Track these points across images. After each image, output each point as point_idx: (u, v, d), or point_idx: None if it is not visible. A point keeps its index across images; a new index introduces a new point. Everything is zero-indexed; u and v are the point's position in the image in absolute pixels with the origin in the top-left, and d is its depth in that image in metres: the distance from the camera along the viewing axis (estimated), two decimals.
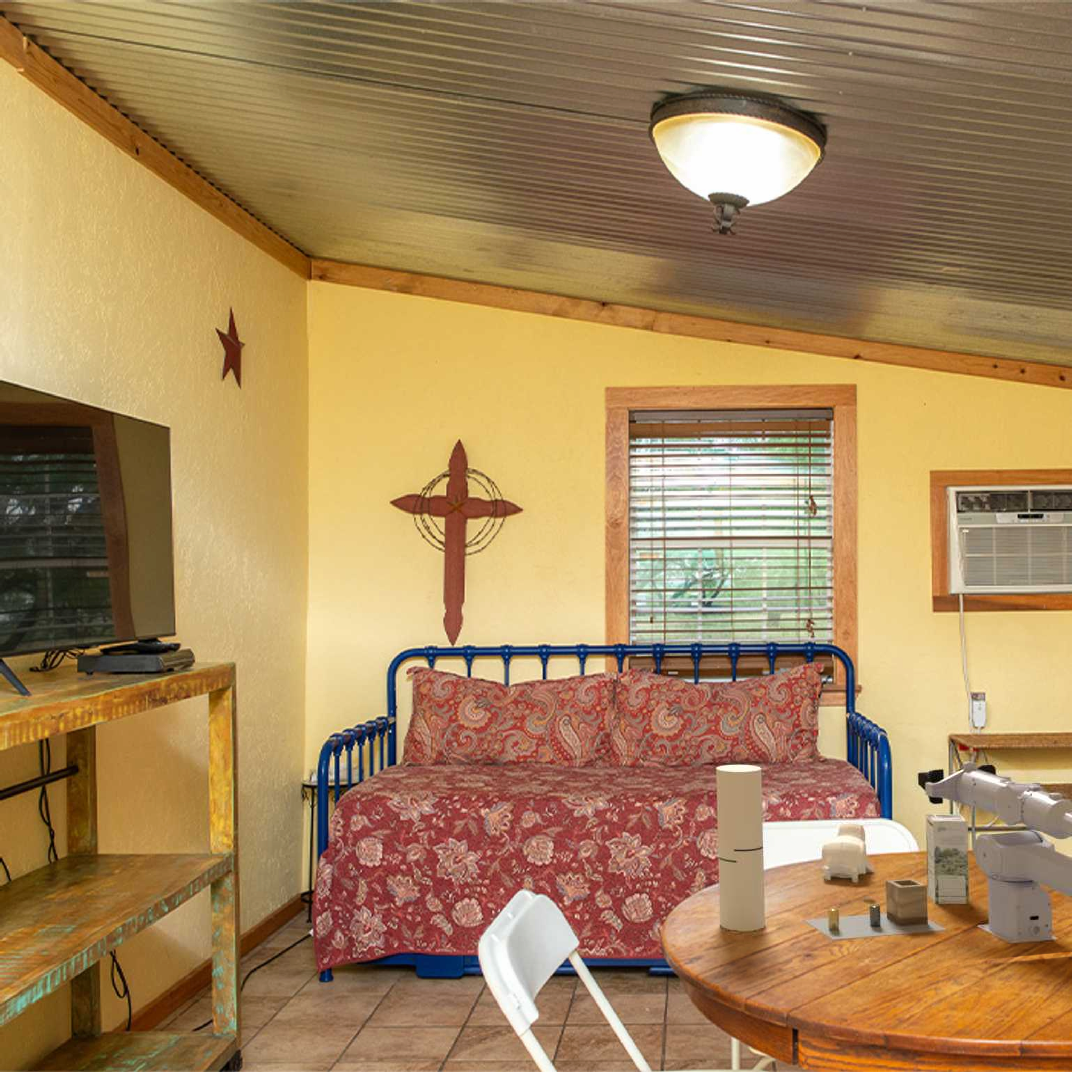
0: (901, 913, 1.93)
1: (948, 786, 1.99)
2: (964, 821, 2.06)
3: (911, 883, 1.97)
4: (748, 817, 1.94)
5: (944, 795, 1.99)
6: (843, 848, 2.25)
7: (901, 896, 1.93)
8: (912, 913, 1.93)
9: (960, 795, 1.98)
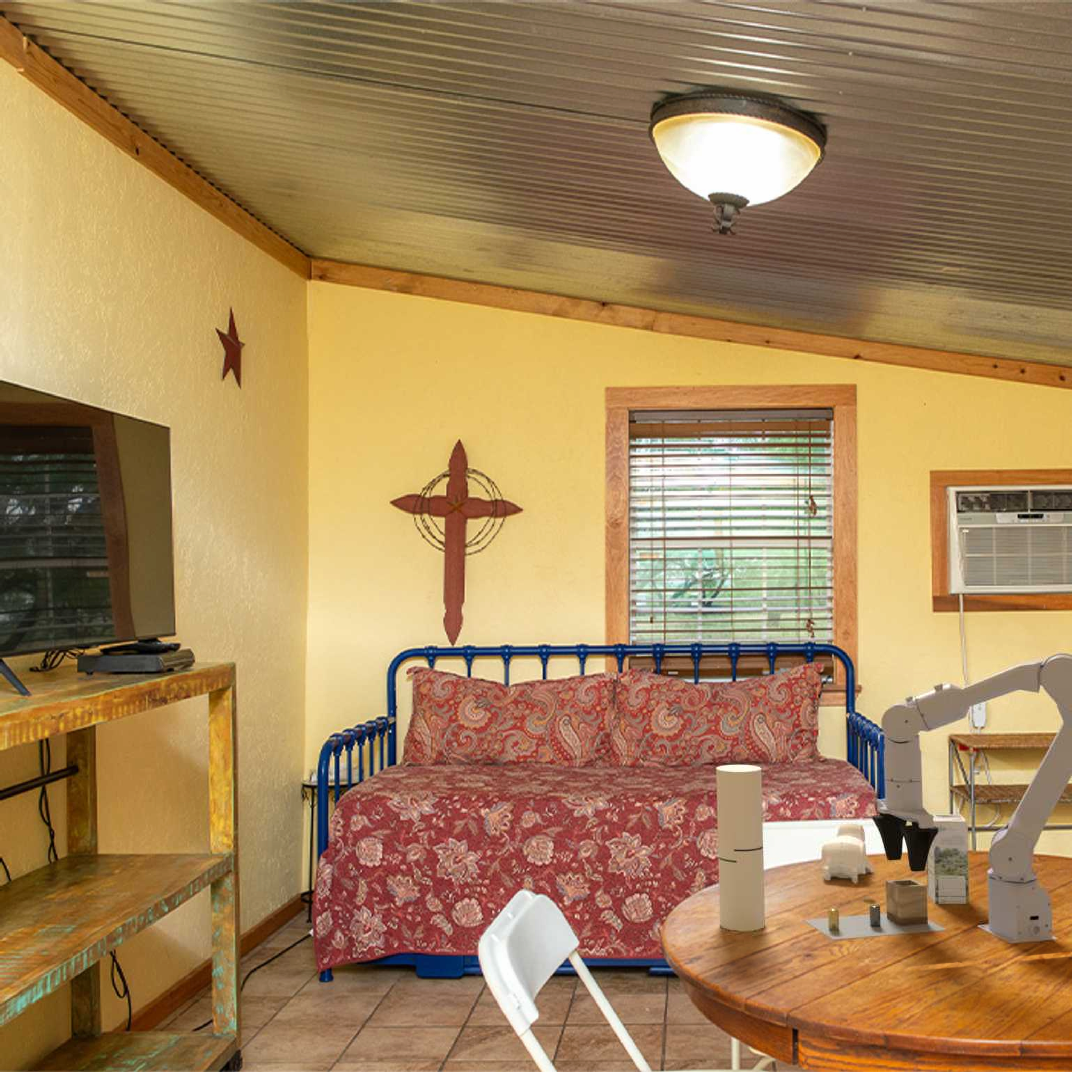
0: (901, 913, 1.93)
1: None
2: (964, 821, 2.06)
3: (911, 883, 1.97)
4: (748, 817, 1.94)
5: (925, 814, 1.92)
6: (843, 848, 2.24)
7: (901, 896, 1.93)
8: (912, 913, 1.93)
9: (917, 804, 1.94)
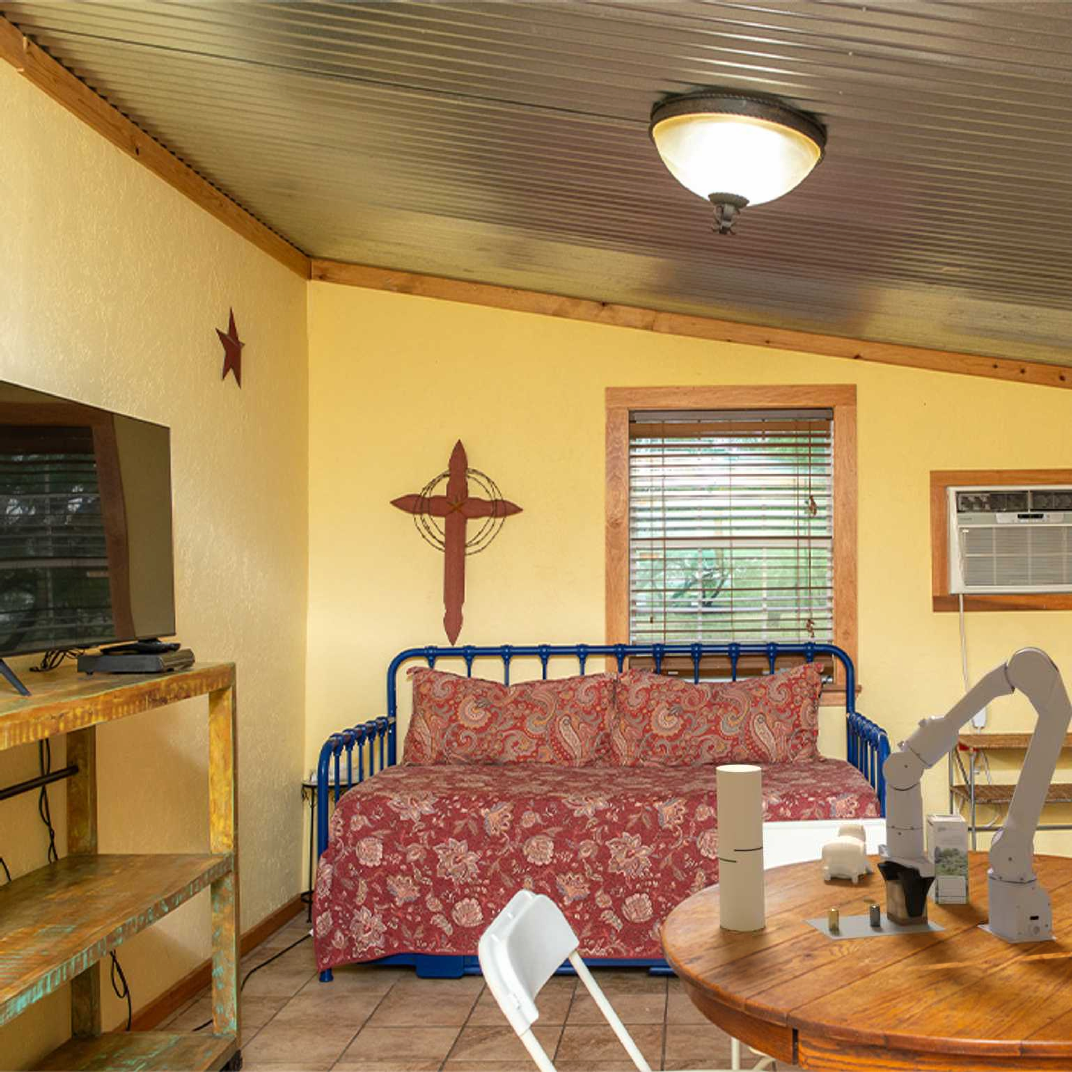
0: (901, 913, 1.93)
1: None
2: (964, 821, 2.06)
3: None
4: (748, 817, 1.94)
5: (926, 862, 1.91)
6: (843, 848, 2.24)
7: (901, 896, 1.93)
8: None
9: (919, 851, 1.94)
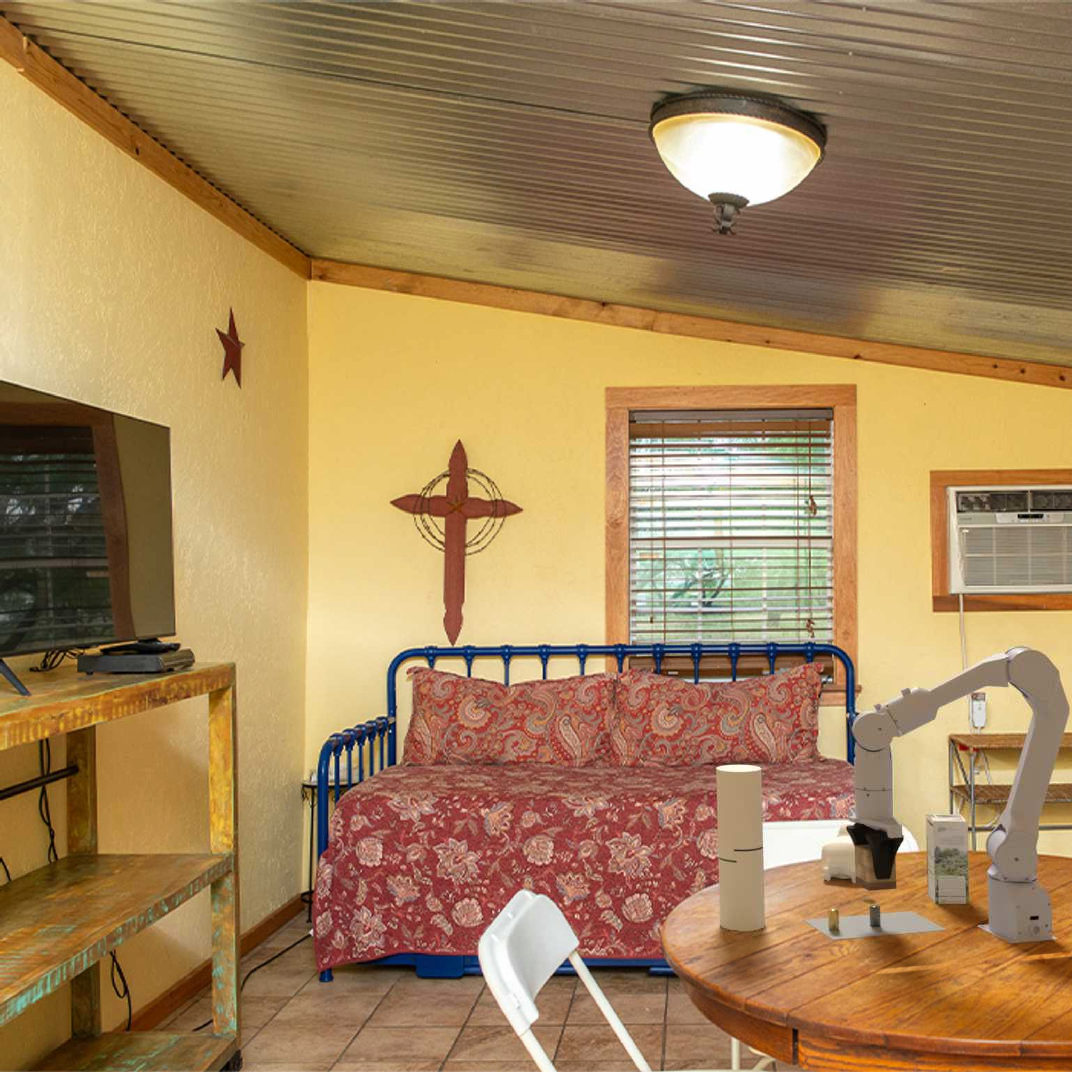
0: (869, 878, 1.91)
1: None
2: (964, 821, 2.06)
3: None
4: (748, 817, 1.94)
5: (894, 823, 1.90)
6: (843, 849, 2.24)
7: (869, 860, 1.91)
8: None
9: (887, 813, 1.92)
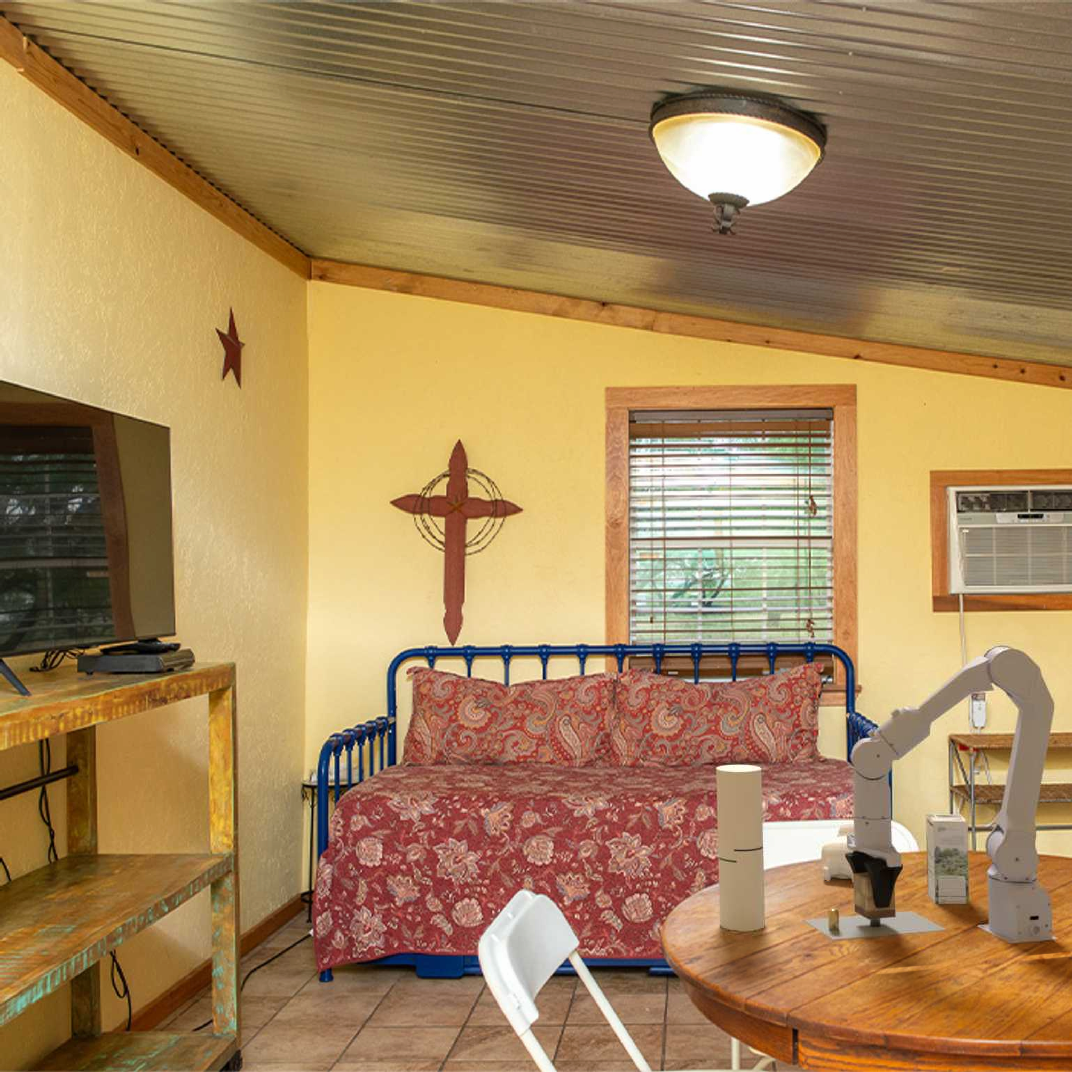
0: (868, 906, 1.91)
1: None
2: (964, 821, 2.06)
3: None
4: (748, 817, 1.94)
5: (893, 852, 1.89)
6: (843, 849, 2.24)
7: (868, 889, 1.91)
8: None
9: (886, 841, 1.91)
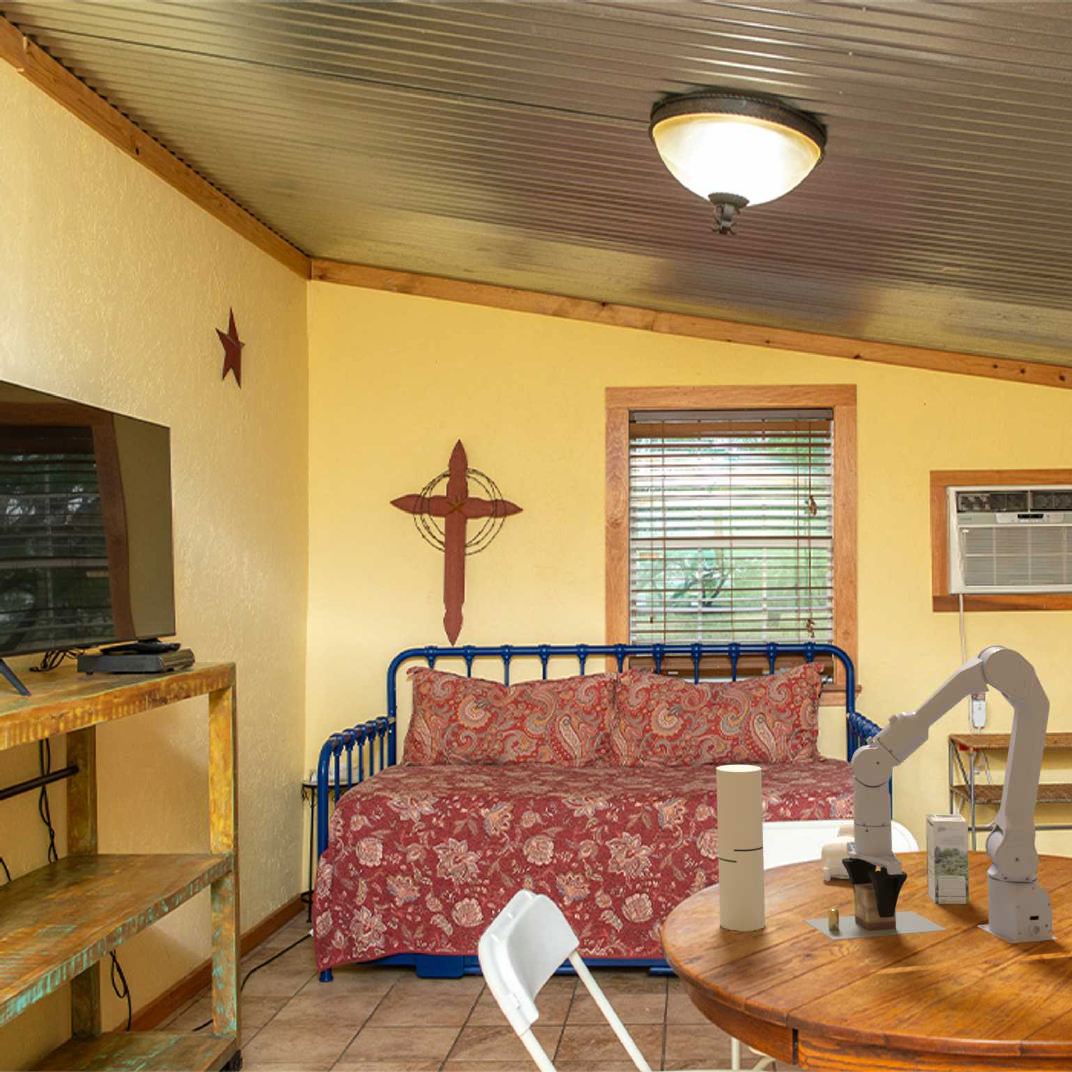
0: (868, 918, 1.91)
1: None
2: (964, 821, 2.06)
3: None
4: (748, 817, 1.94)
5: (894, 859, 1.89)
6: (843, 849, 2.24)
7: (869, 900, 1.91)
8: (880, 918, 1.91)
9: (886, 848, 1.91)
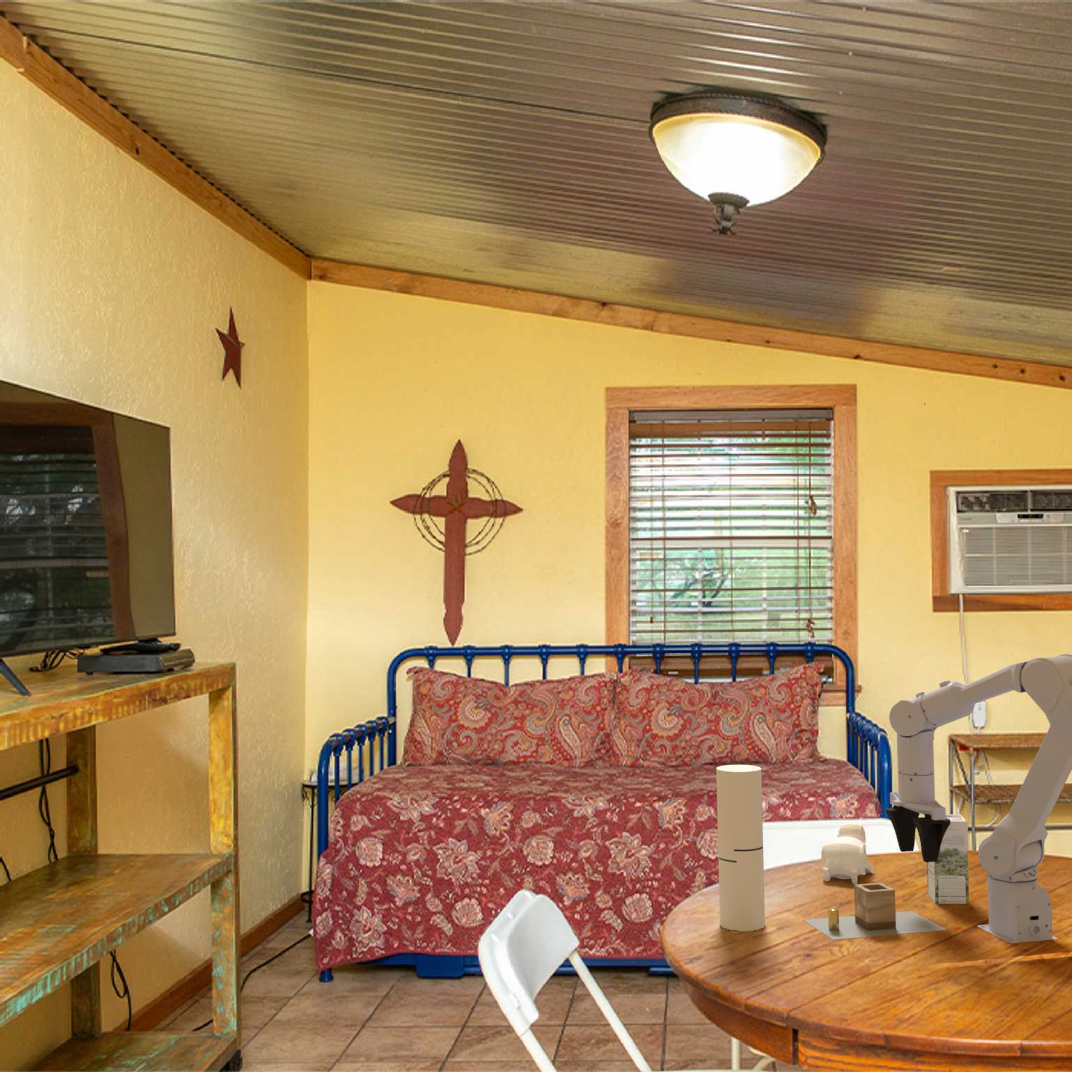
0: (868, 918, 1.91)
1: None
2: (964, 821, 2.06)
3: (880, 887, 1.95)
4: (748, 817, 1.94)
5: (937, 806, 1.98)
6: (843, 849, 2.24)
7: (869, 900, 1.91)
8: (880, 918, 1.91)
9: (930, 796, 2.00)
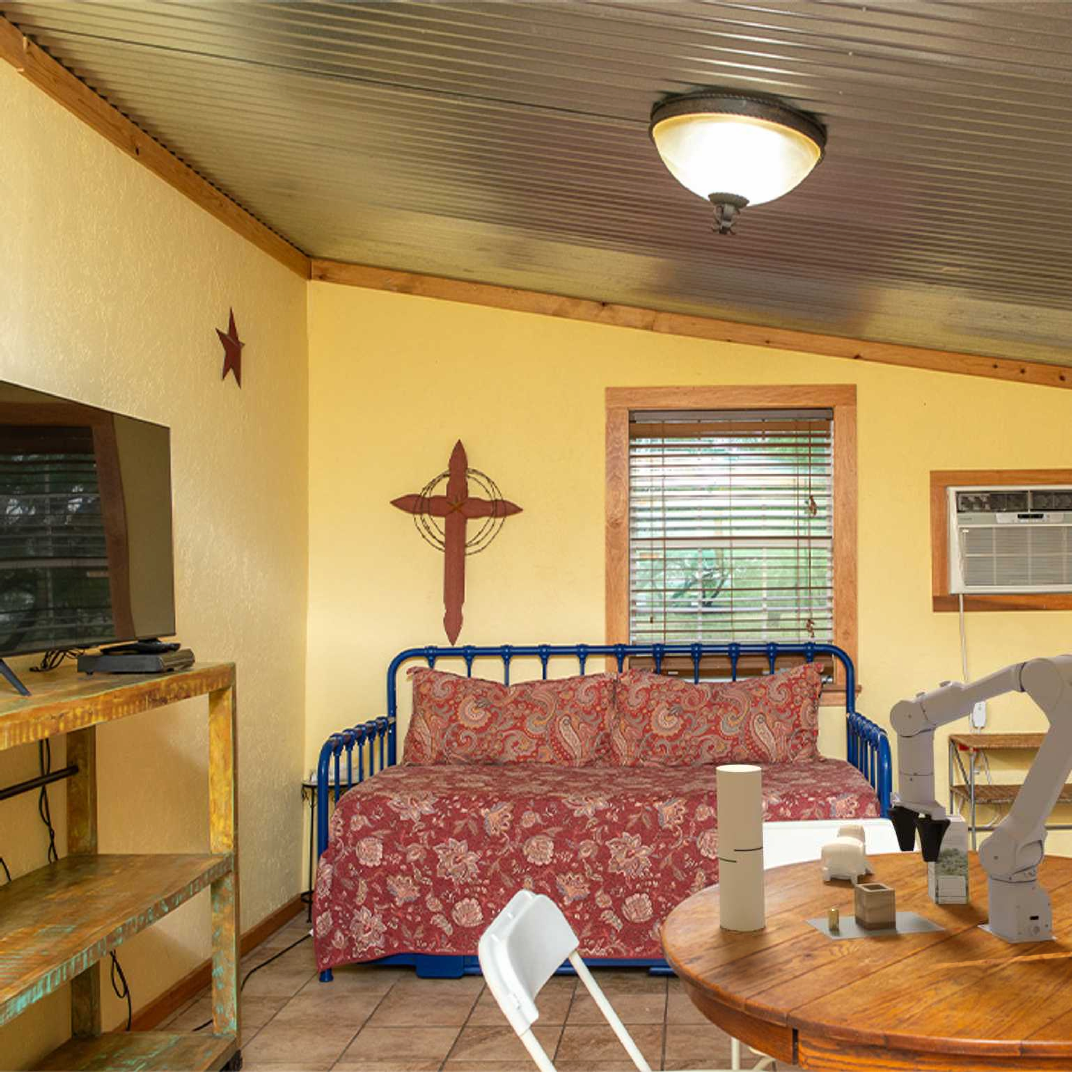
0: (868, 918, 1.91)
1: None
2: (964, 821, 2.06)
3: (880, 887, 1.95)
4: (748, 817, 1.94)
5: (937, 806, 1.98)
6: (842, 849, 2.24)
7: (869, 900, 1.91)
8: (880, 918, 1.91)
9: (930, 796, 2.00)
